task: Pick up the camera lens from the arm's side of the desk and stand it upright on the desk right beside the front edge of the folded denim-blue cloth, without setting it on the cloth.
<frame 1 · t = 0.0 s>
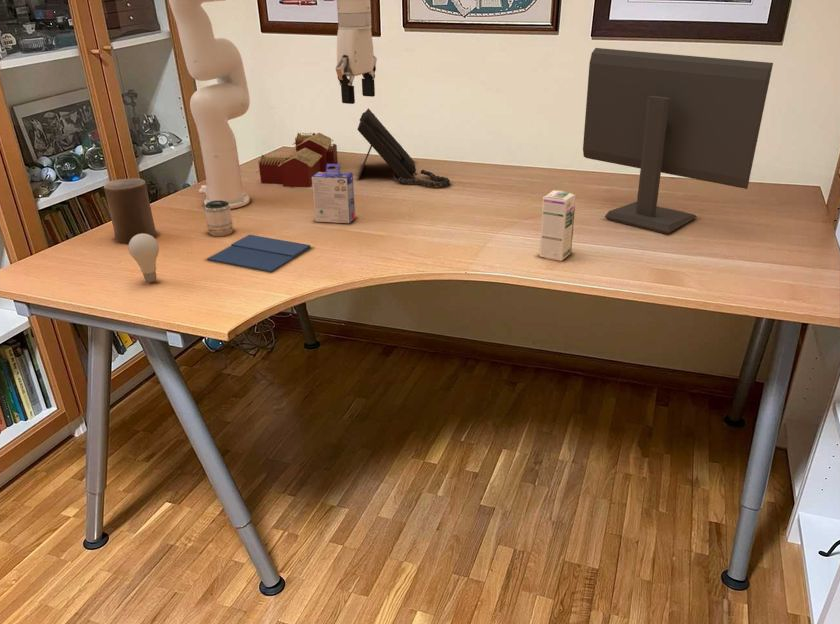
hand: (358, 99, 170), 31 cm above the table, tool pointing down, fingers open, 9 cm apart
cloth: (260, 254, 168), on the table
lightbulb: (151, 283, 155), on the table
toy houses: (305, 167, 235), on the table
office phone: (404, 175, 224), on the table
syrup box: (554, 255, 165), on the table
ink cartridge box: (335, 220, 189), on the table
camera lens: (221, 233, 181), on the table
pillar candle: (136, 237, 179), on the table
computer monitor: (650, 219, 186), on the table
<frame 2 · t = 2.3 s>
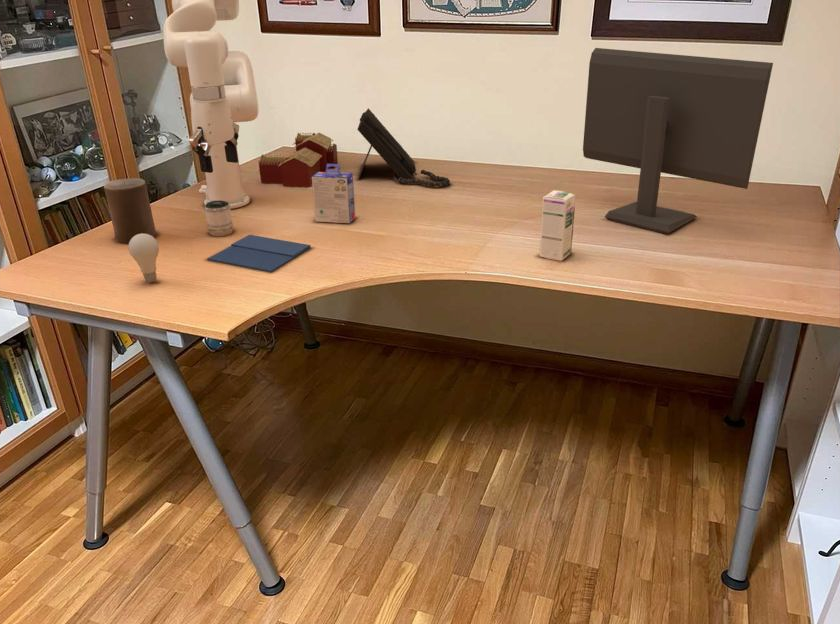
hand: (220, 166, 173), 17 cm above the table, tool pointing down, fingers open, 9 cm apart
nothing on the table moved.
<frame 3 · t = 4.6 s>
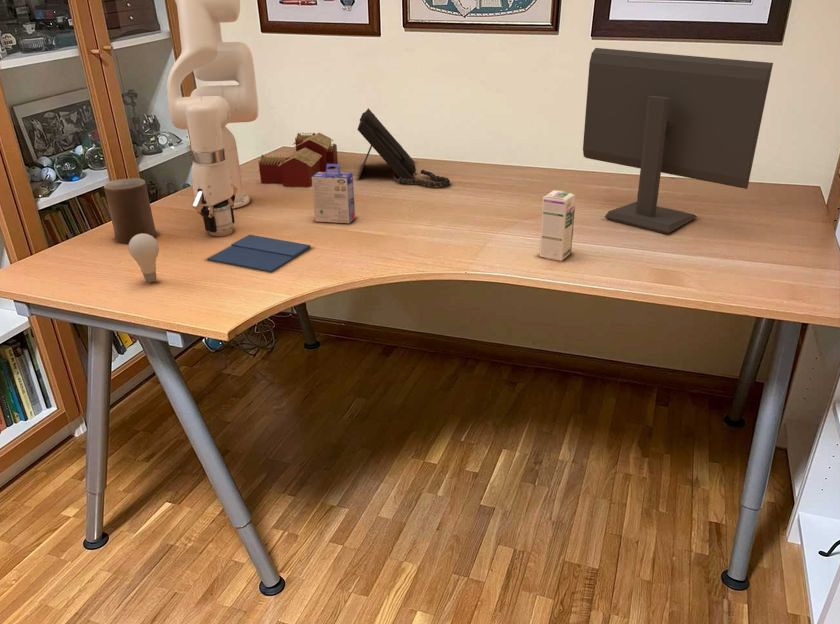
hand: (220, 226, 180), 2 cm above the table, tool pointing down, fingers closed on camera lens, 6 cm apart
camera lens: (221, 233, 181), on the table, touching gripper
everything else where it was.
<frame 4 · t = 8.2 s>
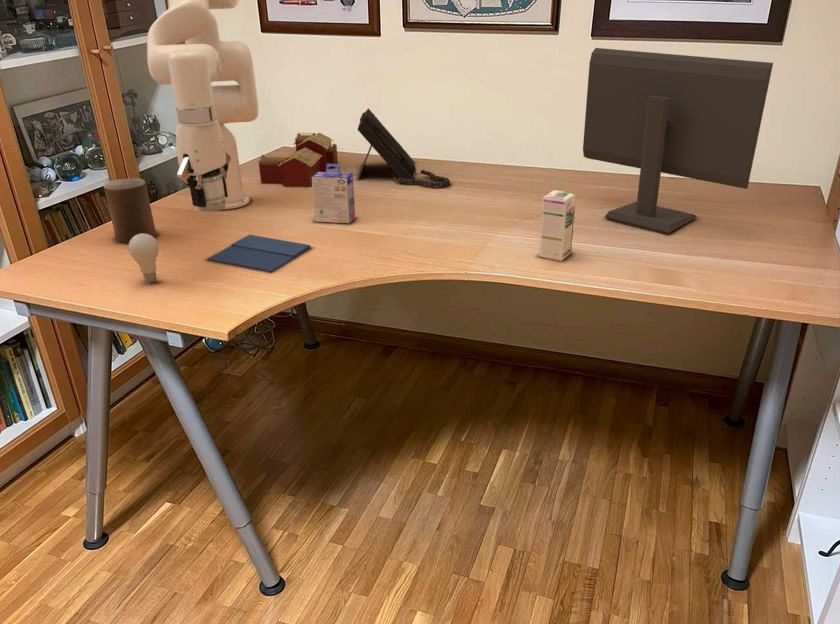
hand: (210, 200, 153), 16 cm above the table, tool pointing down, fingers closed on camera lens, 6 cm apart
camera lens: (211, 208, 154), point 14 cm above the table, touching gripper
everything else where it was.
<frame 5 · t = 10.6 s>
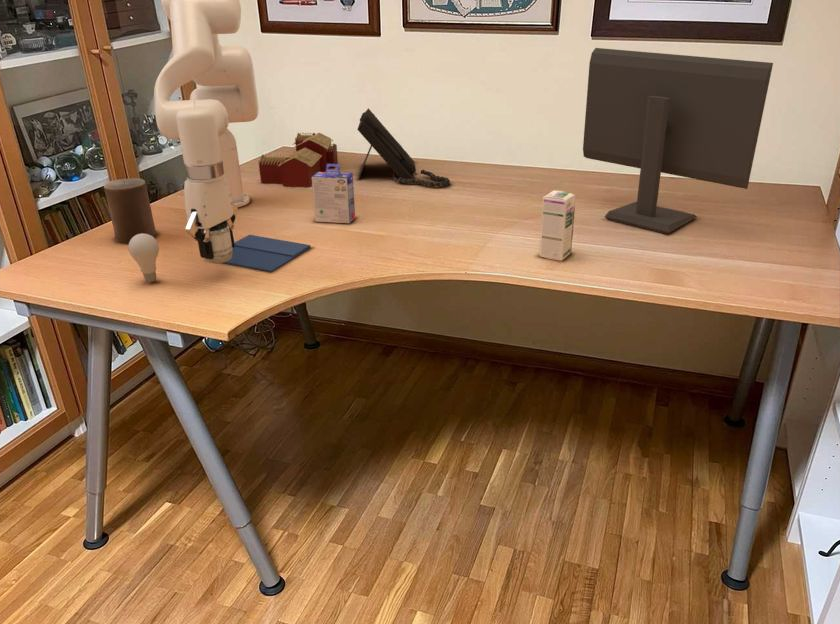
hand: (217, 251, 154), 6 cm above the table, tool pointing down, fingers closed on camera lens, 6 cm apart
camera lens: (219, 259, 155), point 4 cm above the table, touching gripper
everything else where it was.
when the fingers open (2 cm above the table, at t = 12.2 s): camera lens stays where it is, on the table.
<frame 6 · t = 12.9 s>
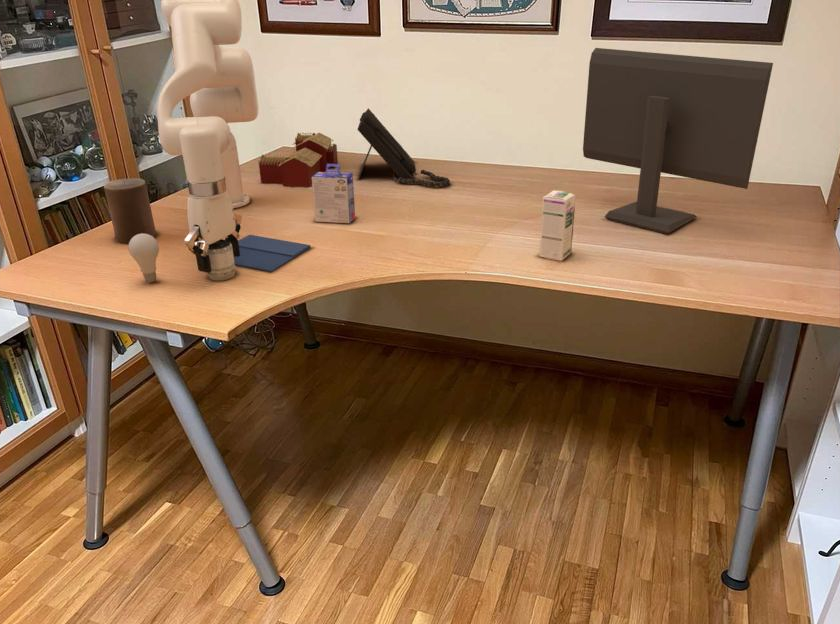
hand: (219, 263, 156), 3 cm above the table, tool pointing down, fingers open, 9 cm apart
camera lens: (222, 276, 157), on the table
everything else where it was.
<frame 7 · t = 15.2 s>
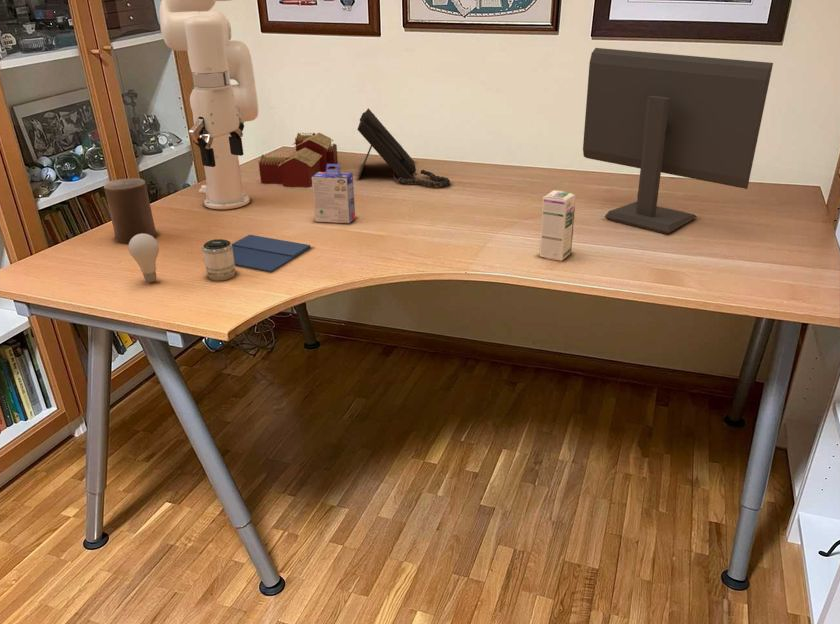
hand: (223, 160, 159), 22 cm above the table, tool pointing down, fingers open, 9 cm apart
nothing on the table moved.
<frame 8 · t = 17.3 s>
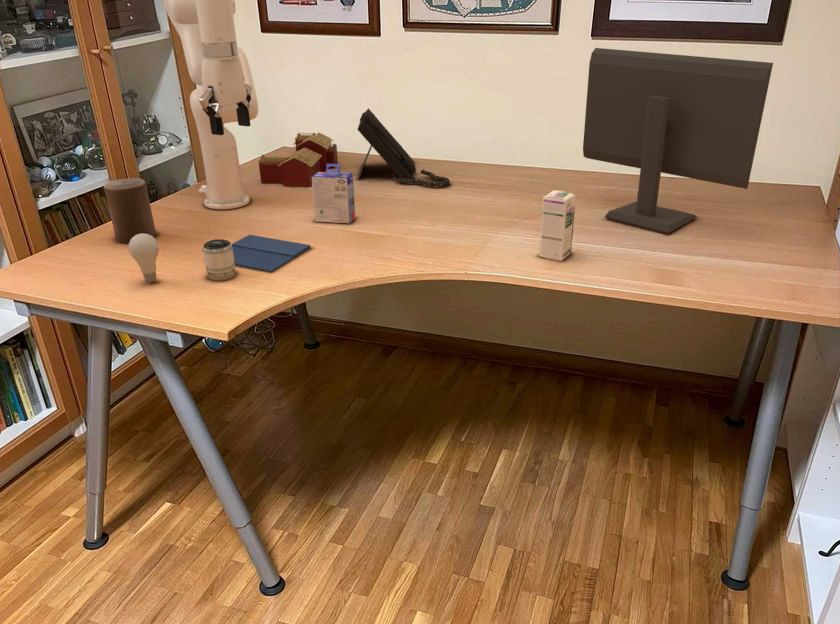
hand: (231, 130, 165), 26 cm above the table, tool pointing down, fingers open, 9 cm apart
nothing on the table moved.
at the end: camera lens inside the target area on the table beside the cloth (1.1 cm from its centre), on the table; camera lens tilted 0°; camera lens touching table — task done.
